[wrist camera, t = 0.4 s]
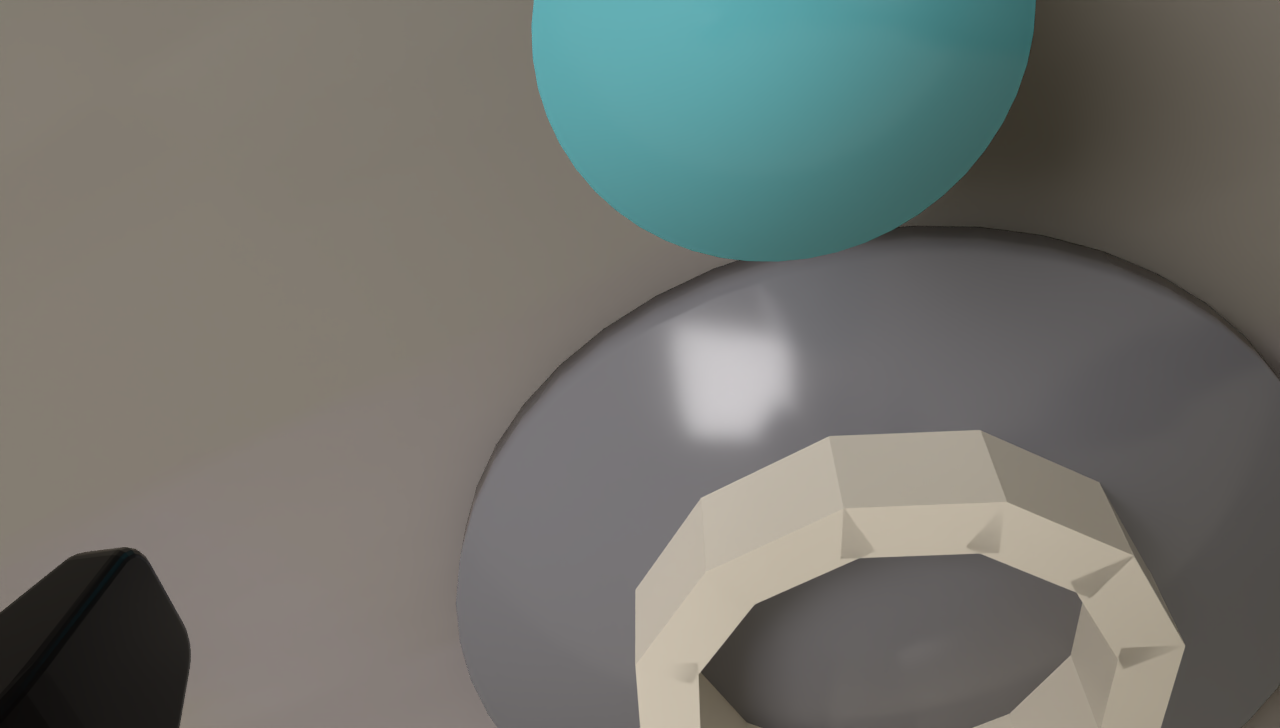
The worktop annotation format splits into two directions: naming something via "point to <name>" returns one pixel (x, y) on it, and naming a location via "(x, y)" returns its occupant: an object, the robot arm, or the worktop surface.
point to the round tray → (888, 503)
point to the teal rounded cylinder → (777, 111)
